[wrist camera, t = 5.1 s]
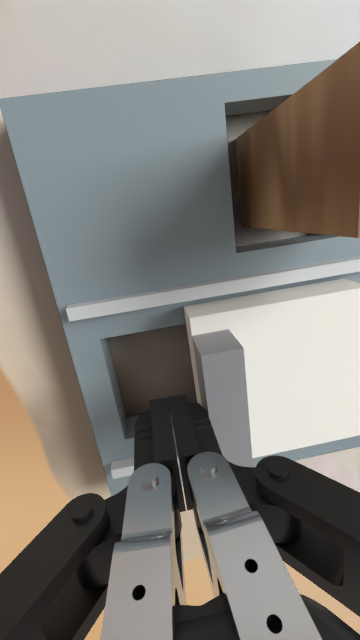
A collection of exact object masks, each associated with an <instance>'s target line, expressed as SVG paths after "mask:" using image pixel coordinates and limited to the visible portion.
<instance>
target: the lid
mask: <svg viewBox="0 0 360 640" xmlns="http://www.w3.org/2000/svg"><path fill="white" fill-rule="evenodd" d="M184 313H185V320H186V327H187V334H188V341H189V348H190V355H191V362H192V369H193V376H194V383H195V390H196V397H197V404H198V403H199V404H200V405H201V406H203V407H204V408H205V409H206V410H207V413H208V416H209V419H210V422H211V424H212V427H213V430H214V433H215V436H216V438H217V441H218V444H219V447H220V450H221V452H222V455H223V456H224V457H225V458H226V459H227V460H228V461H229V462H231V463H232V464H235V465H238V466H243V467H253V460H252V458H256V457H261V456H266V455H270V454H275V453H280V452H284V451H289V450H294V449H298V448H303V447H308V446H312V445H317V444H322V443H326V442H331V441H336V440H340V439H345V438H350V437H354V436H359V435H360V283H357V282H354V281H351V280H347V279H338V280H332V281H326V282H321V283H315V284H309V285H303V286H298V287H292V288H286V289H280V290H275V291H269V292H263V293H257V294H252V295H246V296H240V297H234V298H229V299H223V300H217V301H211V302H205V303H200V304H194V305H188V306H184Z"/></svg>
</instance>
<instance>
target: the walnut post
mask: <svg viewBox="0 0 360 640" xmlns="http://www.w3.org/2000/svg"><path fill="white" fill-rule="evenodd" d="M236 153H237V167H238V181H239V195H240V209H241V224H242V227H252V228H262V229H272V230H282V231H292V232H302V233H312V234H322V235H332V236H342V237H353V238H360V42H359V43H358V44H356V45H355V46H354V47H353V48H351V49H350V50H349V51H348V52H346V53H345V54H344V55H342V56H341V57H340V58H339V59H337V60H336V61H335V62H334V63H332V64H331V65H330V66H328V67H327V68H326V69H325V70H323V71H322V72H321V73H320V74H318V75H317V76H316V77H314V78H313V79H312V80H311V81H309V82H308V83H307V84H306V85H304V86H303V87H302V88H300V89H299V90H298V91H297V92H295V93H294V94H293V95H292V96H290V97H289V98H288V99H286V100H285V101H284V102H283V103H281V104H280V105H279V106H278V107H276V108H275V109H274V110H272V111H271V112H270V113H269V114H267V115H266V116H265V117H264V118H262V119H261V120H260V121H258V122H257V123H256V124H255V125H253V126H252V127H251V128H250V129H248V130H247V131H246V132H244V133H243V134H242V135H241V136H239V137H238V138H237V139H236Z"/></svg>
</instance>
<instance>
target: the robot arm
mask: <svg viewBox="0 0 360 640" xmlns="http://www.w3.org/2000/svg"><path fill="white" fill-rule="evenodd" d="M168 399H169V405H170V411H171V416H172V422H173V428H174V434H175V440H176V446H177V452H178V457H179V463H180V469H181V475H182V481H183V487H184V493H185V499H186V504H187V510H191V509H193V511H194V516H195V522H196V528H197V533H198V537H199V541H200V545H201V548H202V552H203V556H204V559H205V563H206V567H207V570H208V574H209V578H210V582H211V585H212V589H213V593H214V597H215V598H214V599H212V600H210V601H209V602H207V603H205V604H204V605H201V606H190V605H186V596H185V580H184V563H183V546H182V534H181V528H182V523H181V516H180V512H182V511H186V510H185V504H184V497H183V491H182V485H181V479H180V473H179V467H178V461H177V455H176V449H175V443H174V437H173V431H172V425H171V419H170V413H169V407H168V402H167V397H166V398H161V399H155V400H150V406H151V413H146V414H141V415H139V417H138V419H137V420H136V422H135V427H134V433H135V435H134V441H135V442H134V472H133V473H132V475H131V476H130V479H129V482H128V485H127V486H126V487H125V488H124V489H123V490H122V491H120V492H119V493H117V494H115V495H113V496H111V497H109V498H107V499H105V500H104V499H103V498H102V497H101V496H100V495H98V494H94V493H88V494H83V495H80V496H78V497H76V498H75V499H73V500H72V501H70V502H69V503H68V504H67V505H66V506H65V507H64V508H63V509H62V510H61V511H60V512H59V513H58V514H57V515H56V516H55V517H54V518H53V519H52V521H51V522H50V523H49V524H48V525H47V526H46V527H45V528H44V529H43V530H42V531H41V532H40V533H39V534H38V535H37V536H36V537H35V538H34V539H33V540H32V542H30V544H28V545H27V547H26V548H25V549H24V550H23V551H22V552H21V553H20V554H19V555H18V556H17V557H16V558H15V559H14V560H13V561H12V562H11V563H10V564H9V565H8V566H7V567H6V568H5V570H3V571H2V572H1V574H0V640H84V639H85V637H86V635H87V634H88V632H89V631H90V629H91V628H92V626H93V625H94V623H95V621H96V620H97V618H98V617H99V615H100V614H101V612H102V610H103V609H104V607H105V611H104V618H103V625H102V632H101V639H100V640H360V635H359V634H358V633H357V632H356V631H354V630H353V629H352V628H351V627H350V626H348V625H347V624H346V623H344V622H343V621H342V620H341V619H340V618H338V617H337V616H336V615H334V614H333V613H332V612H331V611H329V610H328V609H327V608H326V607H324V606H322V605H321V604H319V603H318V602H316V601H314V600H312V599H310V598H308V597H306V596H304V595H301V594H299V592H298V590H297V588H296V586H295V584H294V582H293V580H292V578H291V576H290V574H289V572H288V570H287V568H286V566H285V564H284V562H286V563H287V564H288V565H290V566H291V567H292V568H294V569H295V570H296V571H298V572H299V573H301V574H302V575H303V576H305V577H306V578H307V579H309V580H310V581H312V582H313V583H314V584H316V585H317V586H318V587H320V588H321V589H322V590H324V591H325V592H327V593H328V594H329V595H331V596H332V597H334V598H335V599H336V600H338V601H339V602H340V603H342V604H343V605H344V606H346V607H347V608H349V609H350V610H351V611H353V612H354V613H355V614H357V615H358V616H360V493H359V492H357V491H355V490H353V489H351V488H349V487H347V486H345V485H343V484H341V483H339V482H337V481H334V480H332V479H330V478H328V477H326V476H324V475H322V474H320V473H318V472H316V471H314V470H312V469H309V468H307V467H305V466H303V465H301V464H299V463H297V462H295V461H293V460H291V459H289V458H286V457H283V456H277V455H273V456H267V457H265V458H263V459H261V460H260V461H259V462H258V464H257V465H256V467H243V466H238V465H235V464H232V463H231V462H229V461H228V460H227V459H226V458H225V457H224V456H223V455H222V452H221V450H220V447H219V444H218V441H217V438H216V436H215V433H214V430H213V427H212V424H211V422H210V419H209V416H208V413H207V410H206V409H205V408H204V407H203V406H201V405H200V404H199V403H198V404H193V405H187V401H186V397H185V394H181V395H176V396H171V397H168ZM283 561H284V562H283Z"/></svg>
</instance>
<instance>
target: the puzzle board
mask: <svg viewBox="0 0 360 640" xmlns="http://www.w3.org/2000/svg"><path fill="white" fill-rule="evenodd" d="M336 60H337V59H336ZM336 60H327V61H319V62H310V63H301V64H293V65H284V66H276V67H267V68H259V69H250V70H242V71H233V72H225V73H216V74H207V75H199V76H190V77H182V78H173V79H165V80H156V81H148V82H139V83H131V84H122V85H114V86H105V87H96V88H88V89H79V90H71V91H62V92H54V93H45V94H37V95H28V96H20V97H11V98H2V99H0V108H1V111H2V115H3V118H4V122H5V125H6V129H7V132H8V136H9V139H10V143H11V146H12V150H13V153H14V157H15V160H16V164H17V167H18V171H19V174H20V178H21V181H22V185H23V188H24V192H25V195H26V199H27V202H28V206H29V209H30V213H31V216H32V220H33V223H34V227H35V230H36V234H37V237H38V241H39V244H40V248H41V251H42V255H43V258H44V262H45V265H46V268H47V272H48V275H49V279H50V282H51V286H52V289H53V293H54V296H55V300H56V303H57V307H58V310H59V314H60V317H61V321H62V324H63V328H64V331H65V335H66V338H67V342H68V345H69V349H70V352H71V356H72V359H73V363H74V366H75V370H76V373H77V377H78V380H79V384H80V387H81V391H82V394H83V398H84V401H85V405H86V408H87V412H88V415H89V419H90V422H91V426H92V429H93V433H94V436H95V440H96V443H97V447H98V450H99V454H100V457H101V461H102V464H103V468H104V471H105V475H106V478H107V482H108V485H109V489H110V492H111V496H113V495H115V494H117V493H119V492H120V491H122V490H123V489H124V488H125V487H126V486H127V485H128V482H129V479H130V476H131V475H132V473H133V472H134V442H135V441H134V435H135V433H134V427H135V422H136V420H137V419H138V417H139V415H135V416H130V417H126V415H125V411H124V406H123V402H122V398H121V394H120V390H119V385H118V381H117V377H116V373H115V369H114V364H113V360H112V356H111V352H110V348H109V343H108V339H107V338H109V337H115V336H121V335H126V334H132V333H138V332H143V331H149V330H154V329H160V328H166V327H171V326H177V325H183V324H186V320H185V313H184V306H188V305H194V304H200V303H205V302H211V301H217V300H223V299H229V298H234V297H240V296H246V295H252V294H257V293H263V292H269V291H275V290H280V289H286V288H292V287H298V286H303V285H309V284H315V283H321V282H326V281H332V280H338V279H347V280H351V281H354V282H357V283H360V238H353V237H342V236H332V235H322V234H315V235H309V236H303V237H297V238H291V239H284V240H278V241H272V242H266V243H260V244H253V245H247V246H241V247H236V243H235V231H234V218H233V205H232V193H231V180H230V167H229V155H228V142H227V129H226V117H225V116H230V115H238V114H246V113H254V112H261V111H269V110H274V109H275V108H276V107H278V106H279V105H280V104H281V103H283V102H284V101H285V100H286V99H288V98H289V97H290V96H292V95H293V94H294V93H295V92H297V91H298V90H299V89H300V88H302V87H303V86H304V85H306V84H307V83H308V82H309V81H311V80H312V79H313V78H314V77H316V76H317V75H318V74H320V73H321V72H322V71H323V70H325V69H326V68H327V67H328V66H330V65H331V64H332V63H334V62H335V61H336ZM196 404H197V403H196ZM191 405H193V404H191ZM169 413H170V419H171V425H172V431H173V437H174V443H175V449H176V455H177V461H178V467H179V473H180V479H181V485H183V481H182V475H181V469H180V463H179V457H178V452H177V446H176V440H175V434H174V428H173V422H172V416H171V411H170V409H169ZM145 414H146V413H145ZM140 415H141V414H140ZM359 446H360V435H359V436H354V437H350V438H345V439H340V440H336V441H331V442H326V443H322V444H317V445H312V446H308V447H303V448H298V449H294V450H289V451H284V452H280V453H275V454H270V455H266V456H261V457H256V458H252V460H253V467H256V465H257V464H258V462H259V461H260V460H261V459H263V458H265V457H267V456H273V455H277V456H283V457H286V458H289V459H291V460H293V461H295V460H300V459H304V458H309V457H314V456H318V455H323V454H327V453H332V452H336V451H341V450H346V449H350V448H355V447H359Z"/></svg>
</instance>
